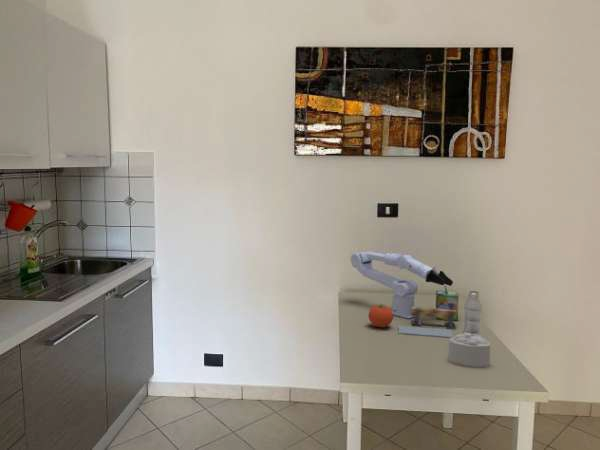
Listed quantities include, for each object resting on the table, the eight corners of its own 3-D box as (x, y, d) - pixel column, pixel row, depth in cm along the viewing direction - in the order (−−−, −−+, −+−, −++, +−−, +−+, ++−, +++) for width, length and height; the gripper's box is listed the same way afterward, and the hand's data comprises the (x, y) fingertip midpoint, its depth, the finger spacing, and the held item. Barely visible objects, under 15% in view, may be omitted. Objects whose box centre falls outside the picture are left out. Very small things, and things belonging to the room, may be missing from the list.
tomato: (397, 326, 201) (398, 303, 200) (383, 332, 194) (384, 308, 193) (377, 321, 208) (377, 299, 207) (363, 326, 201) (364, 303, 200)
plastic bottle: (479, 341, 185) (482, 291, 183) (480, 347, 178) (483, 294, 176) (462, 339, 187) (464, 289, 185) (462, 345, 180) (464, 293, 178)
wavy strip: (411, 315, 205) (412, 308, 204) (411, 313, 207) (412, 306, 207) (455, 318, 201) (456, 311, 201) (455, 316, 204) (455, 309, 204)
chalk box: (457, 321, 211) (459, 288, 210) (436, 319, 213) (437, 287, 211) (455, 315, 220) (457, 284, 219) (434, 314, 222) (436, 282, 220)
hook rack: (411, 325, 203) (412, 312, 203) (411, 321, 210) (411, 308, 209) (455, 329, 200) (456, 315, 199) (454, 324, 206) (454, 311, 205)
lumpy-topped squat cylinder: (491, 367, 160) (493, 342, 159) (452, 365, 160) (453, 340, 160) (481, 355, 170) (483, 332, 169) (444, 354, 171) (446, 330, 170)
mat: (398, 333, 192) (398, 332, 192) (398, 327, 201) (398, 325, 201) (452, 338, 188) (452, 336, 188) (450, 331, 197) (450, 329, 197)
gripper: (417, 260, 206) (444, 274, 197) (432, 262, 216) (458, 275, 208) (410, 275, 207) (437, 289, 198) (426, 276, 217) (452, 290, 209)
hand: (448, 283), depth 203 cm, fingers open, 7 cm apart
